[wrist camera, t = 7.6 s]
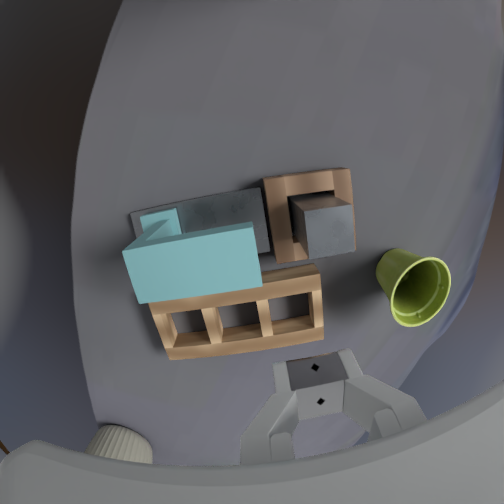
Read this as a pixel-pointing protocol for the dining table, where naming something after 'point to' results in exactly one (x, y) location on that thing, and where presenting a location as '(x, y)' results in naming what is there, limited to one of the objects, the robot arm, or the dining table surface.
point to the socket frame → (259, 209)
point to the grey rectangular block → (322, 224)
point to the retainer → (190, 259)
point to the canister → (120, 445)
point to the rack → (246, 336)
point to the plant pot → (413, 285)
